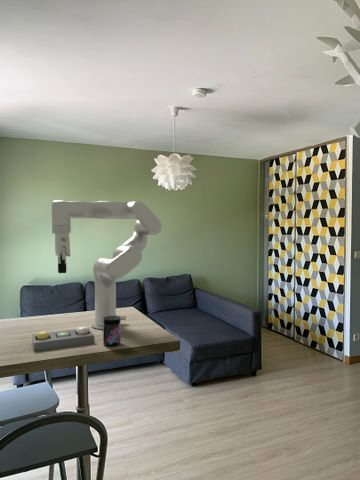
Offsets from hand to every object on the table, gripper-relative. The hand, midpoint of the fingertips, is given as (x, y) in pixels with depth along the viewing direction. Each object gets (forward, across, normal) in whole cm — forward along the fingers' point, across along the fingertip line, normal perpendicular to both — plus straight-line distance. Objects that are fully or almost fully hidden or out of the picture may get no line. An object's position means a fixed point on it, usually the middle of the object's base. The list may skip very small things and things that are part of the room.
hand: (62, 272), depth 148 cm
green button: (+25, -11, +2) cm, 28 cm away
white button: (+24, -12, -6) cm, 27 cm away
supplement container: (+27, -22, -15) cm, 38 cm away
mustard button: (+24, -11, +9) cm, 28 cm away
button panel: (+26, -12, +2) cm, 29 cm away
